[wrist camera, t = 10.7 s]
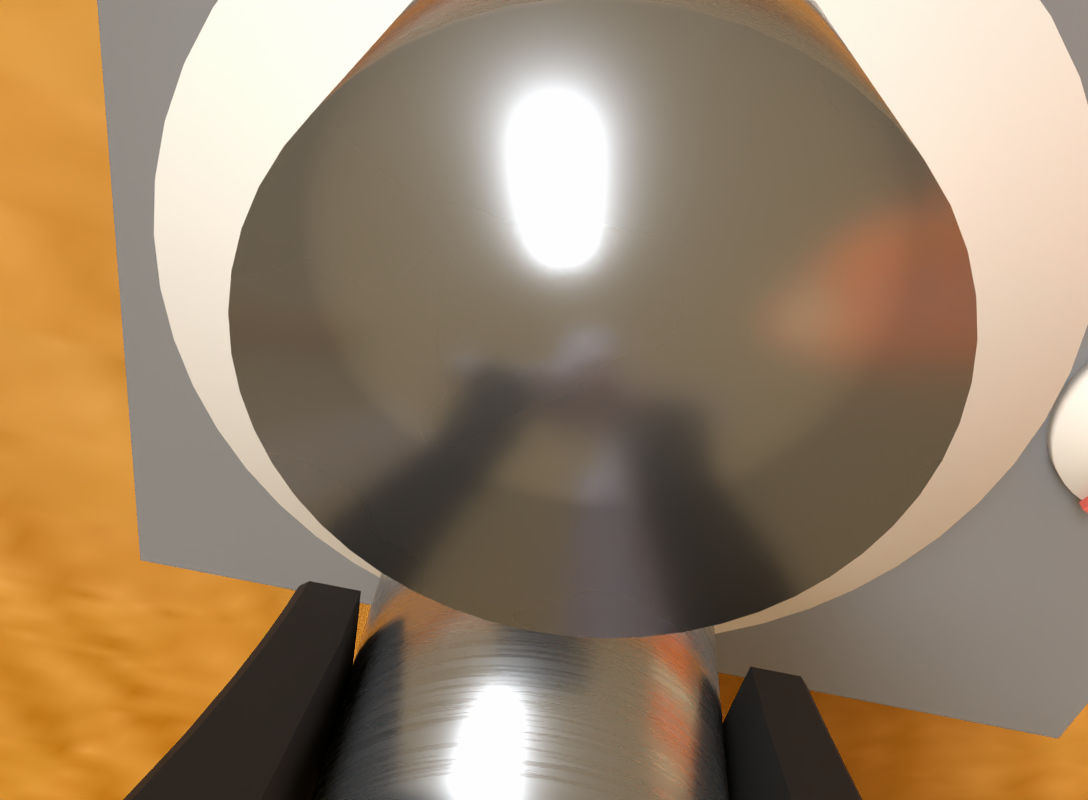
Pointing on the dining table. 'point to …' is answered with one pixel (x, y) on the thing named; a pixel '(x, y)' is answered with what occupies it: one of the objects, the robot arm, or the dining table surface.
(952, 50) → the kitchen scale
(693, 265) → the steel weight
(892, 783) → the dining table surface
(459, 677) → the steel weight
